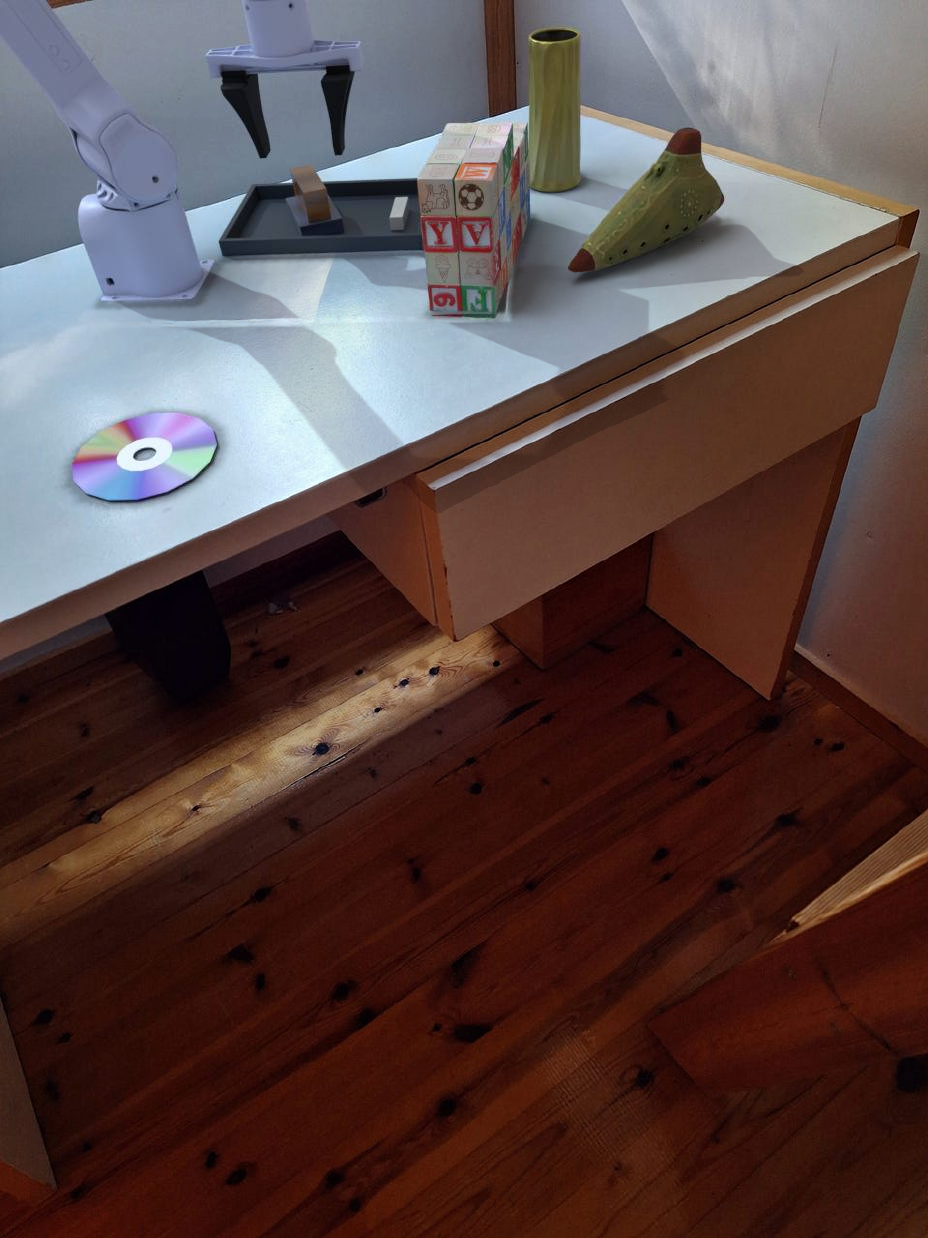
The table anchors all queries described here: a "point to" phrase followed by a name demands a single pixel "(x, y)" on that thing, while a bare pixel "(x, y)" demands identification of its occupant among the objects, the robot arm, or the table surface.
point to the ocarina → (655, 207)
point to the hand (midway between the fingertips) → (302, 152)
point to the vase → (554, 109)
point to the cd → (121, 477)
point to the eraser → (312, 205)
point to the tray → (365, 230)
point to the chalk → (399, 213)
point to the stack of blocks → (474, 213)
